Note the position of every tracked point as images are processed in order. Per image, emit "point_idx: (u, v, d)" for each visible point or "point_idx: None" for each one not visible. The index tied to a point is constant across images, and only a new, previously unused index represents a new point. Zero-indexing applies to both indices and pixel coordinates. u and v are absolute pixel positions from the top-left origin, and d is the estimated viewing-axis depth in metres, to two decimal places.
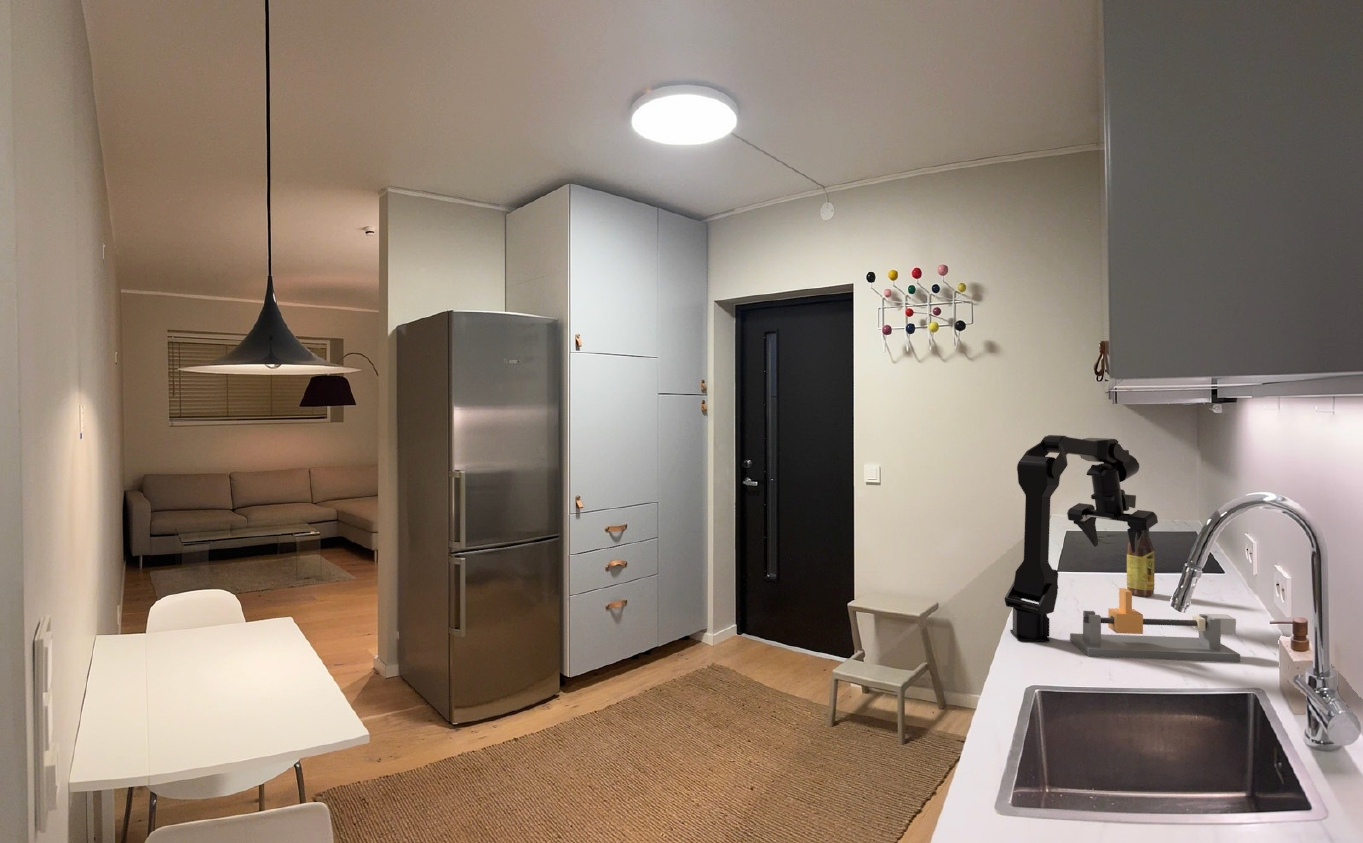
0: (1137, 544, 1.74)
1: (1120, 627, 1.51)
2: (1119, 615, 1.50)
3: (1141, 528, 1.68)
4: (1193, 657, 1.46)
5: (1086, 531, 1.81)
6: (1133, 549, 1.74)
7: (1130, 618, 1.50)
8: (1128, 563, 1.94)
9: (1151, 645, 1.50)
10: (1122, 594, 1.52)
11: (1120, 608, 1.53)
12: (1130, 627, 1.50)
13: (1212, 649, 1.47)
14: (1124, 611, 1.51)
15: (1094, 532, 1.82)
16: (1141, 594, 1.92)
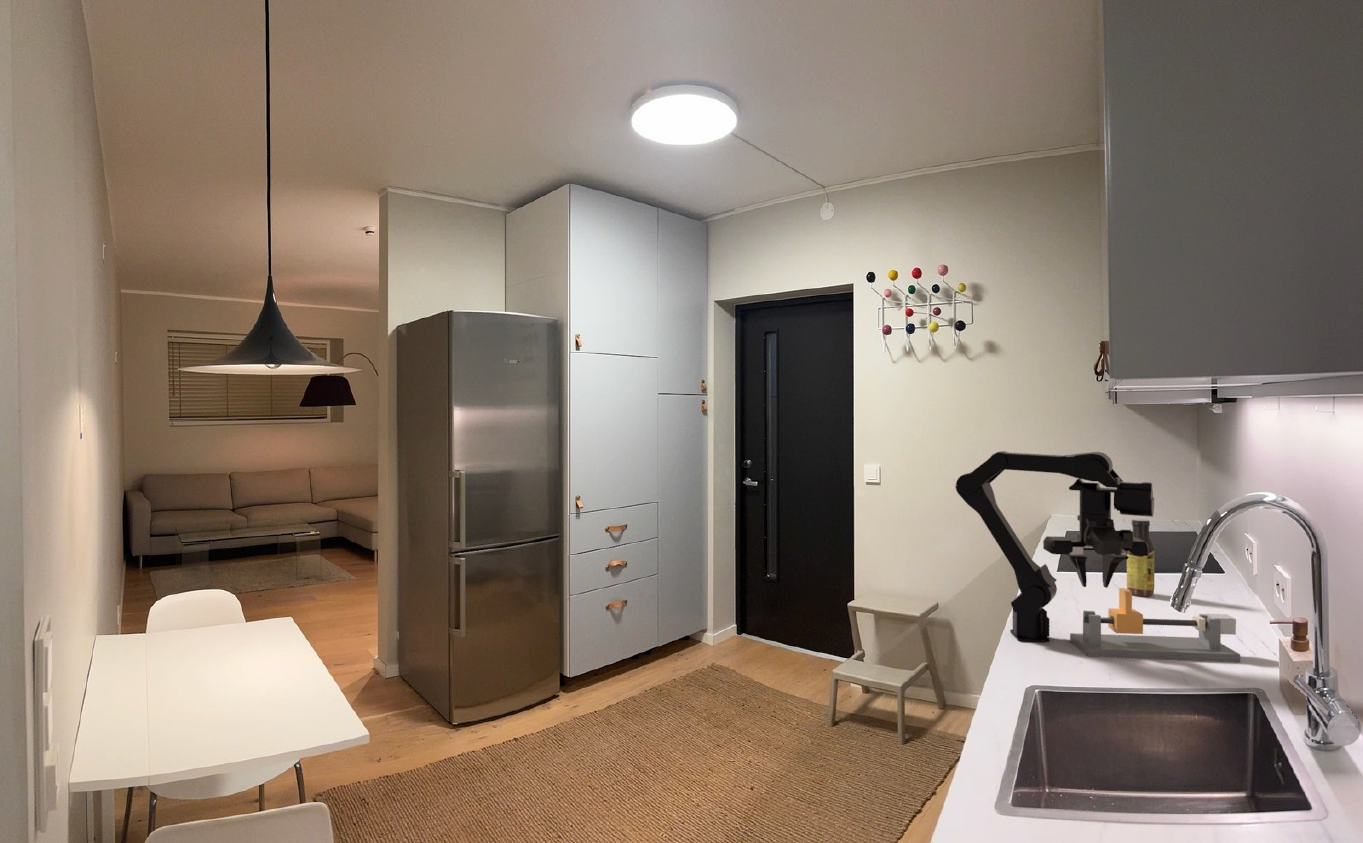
0: (1080, 576, 1.53)
1: (1120, 627, 1.51)
2: (1119, 615, 1.50)
3: None
4: (1193, 657, 1.46)
5: None
6: None
7: (1130, 618, 1.50)
8: (1128, 563, 1.94)
9: (1151, 645, 1.50)
10: (1122, 594, 1.52)
11: (1120, 608, 1.53)
12: (1130, 627, 1.50)
13: (1212, 649, 1.47)
14: (1124, 611, 1.51)
15: (1106, 570, 1.52)
16: (1141, 594, 1.92)
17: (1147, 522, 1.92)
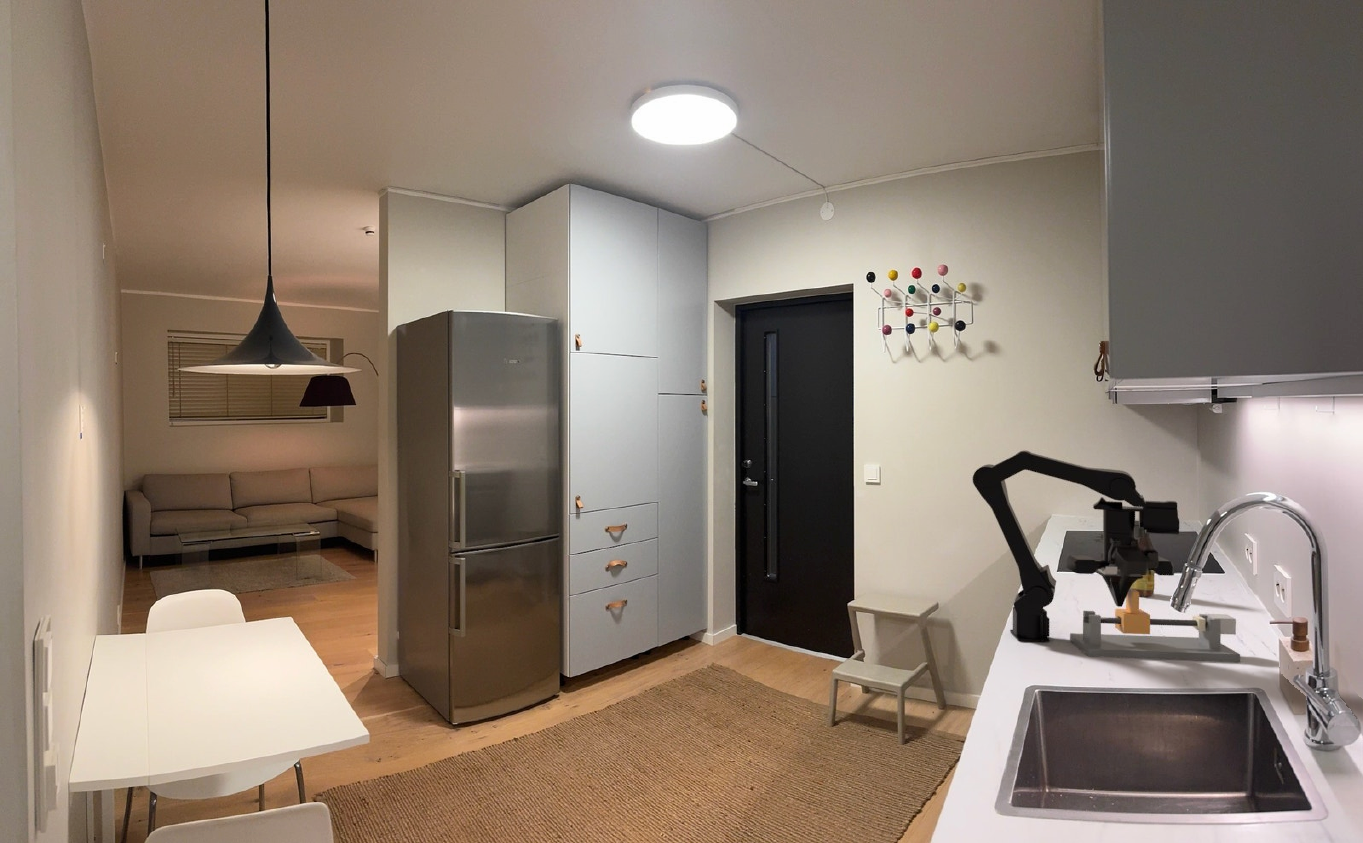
0: (1113, 596, 1.52)
1: (1127, 628, 1.50)
2: (1126, 615, 1.50)
3: None
4: (1193, 657, 1.46)
5: None
6: None
7: (1137, 618, 1.50)
8: None
9: (1151, 645, 1.50)
10: (1129, 595, 1.52)
11: (1127, 608, 1.53)
12: (1137, 627, 1.50)
13: (1212, 649, 1.47)
14: (1131, 611, 1.51)
15: (1120, 589, 1.52)
16: (1141, 594, 1.92)
17: None
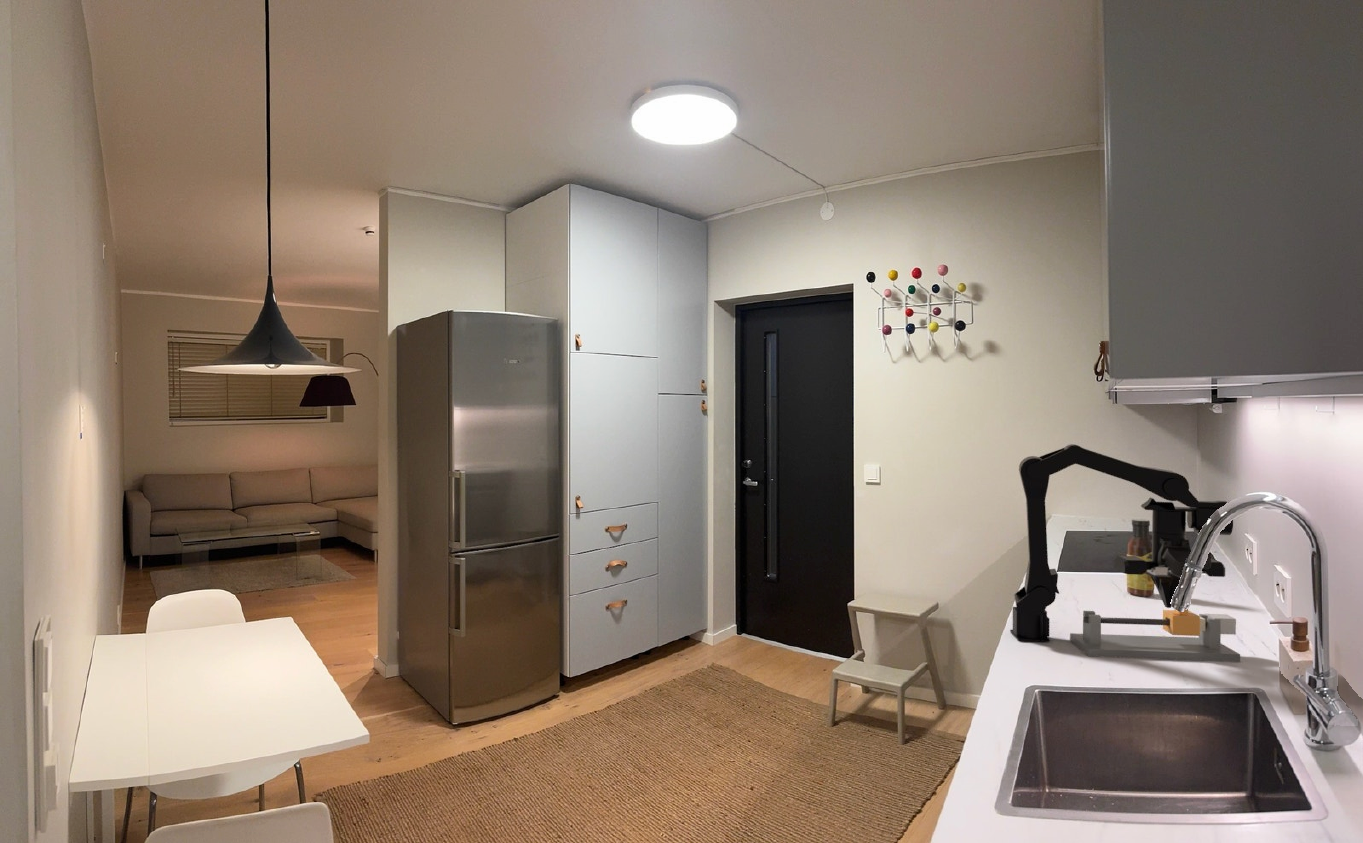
0: (1163, 597, 1.51)
1: (1177, 629, 1.49)
2: (1175, 617, 1.49)
3: None
4: (1193, 657, 1.46)
5: None
6: None
7: (1186, 620, 1.49)
8: None
9: (1151, 645, 1.50)
10: None
11: (1175, 610, 1.51)
12: (1186, 629, 1.49)
13: (1212, 649, 1.47)
14: (1180, 613, 1.50)
15: None
16: (1141, 594, 1.92)
17: (1147, 522, 1.92)
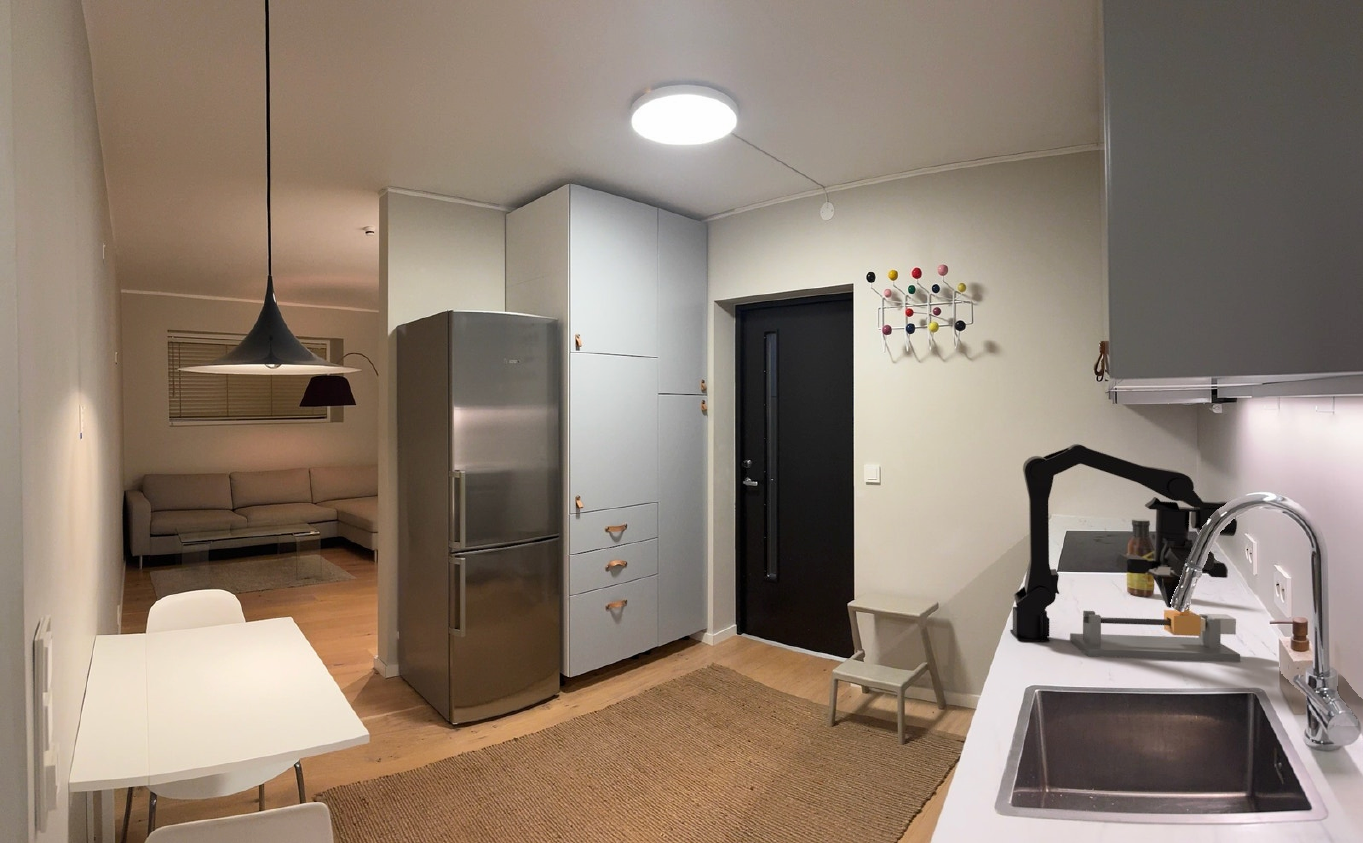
0: (1165, 596, 1.51)
1: (1178, 629, 1.49)
2: (1176, 617, 1.49)
3: None
4: (1193, 657, 1.46)
5: None
6: None
7: (1188, 620, 1.49)
8: None
9: (1151, 645, 1.50)
10: None
11: None
12: (1188, 629, 1.49)
13: (1212, 649, 1.47)
14: (1181, 613, 1.50)
15: None
16: (1141, 594, 1.92)
17: (1147, 522, 1.92)
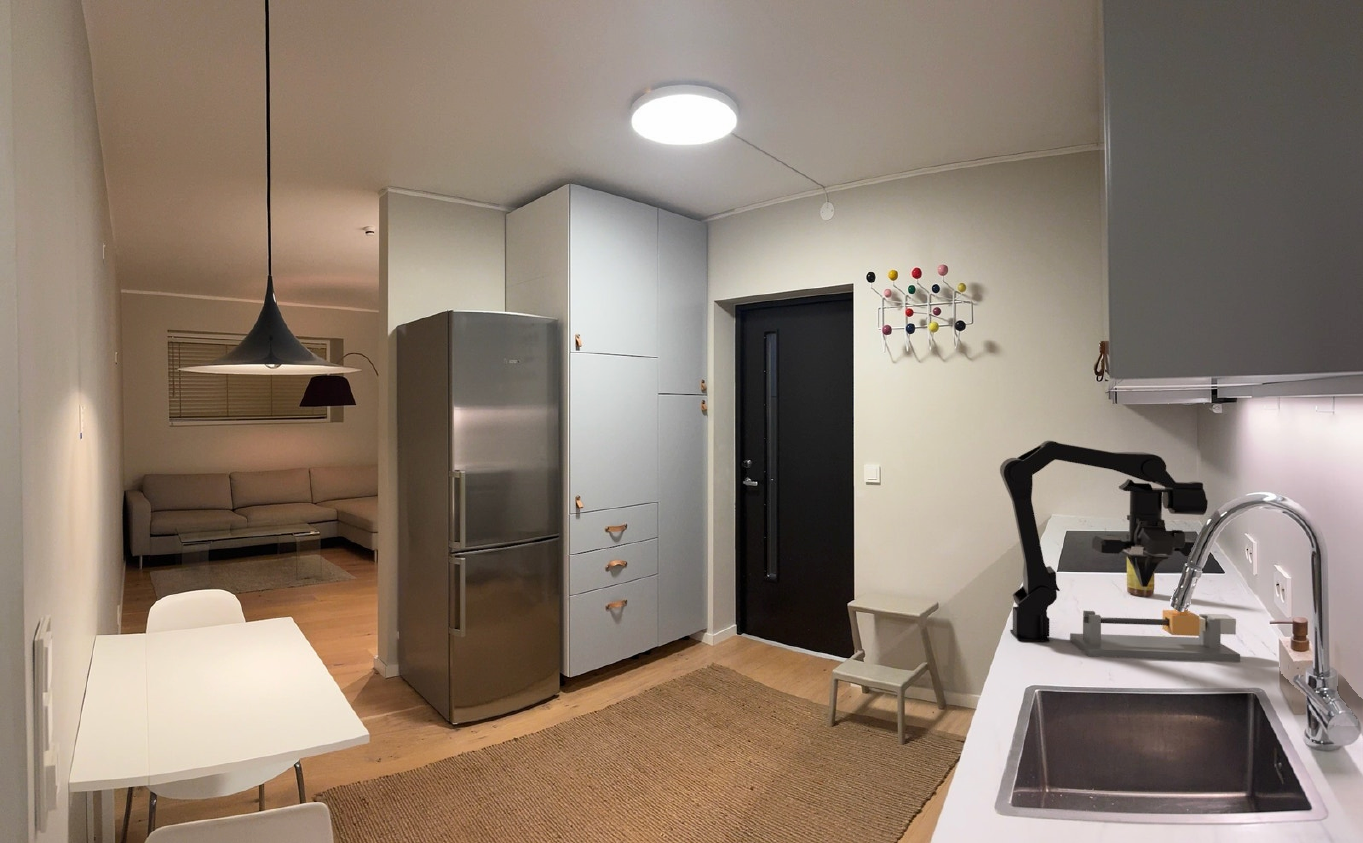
0: (1138, 576, 1.54)
1: (1176, 629, 1.49)
2: (1175, 617, 1.49)
3: None
4: (1193, 657, 1.46)
5: None
6: None
7: (1186, 620, 1.49)
8: (1128, 563, 1.94)
9: (1151, 645, 1.50)
10: None
11: (1175, 610, 1.51)
12: (1186, 629, 1.49)
13: (1212, 649, 1.47)
14: (1180, 613, 1.50)
15: (1145, 570, 1.54)
16: (1141, 594, 1.92)
17: None
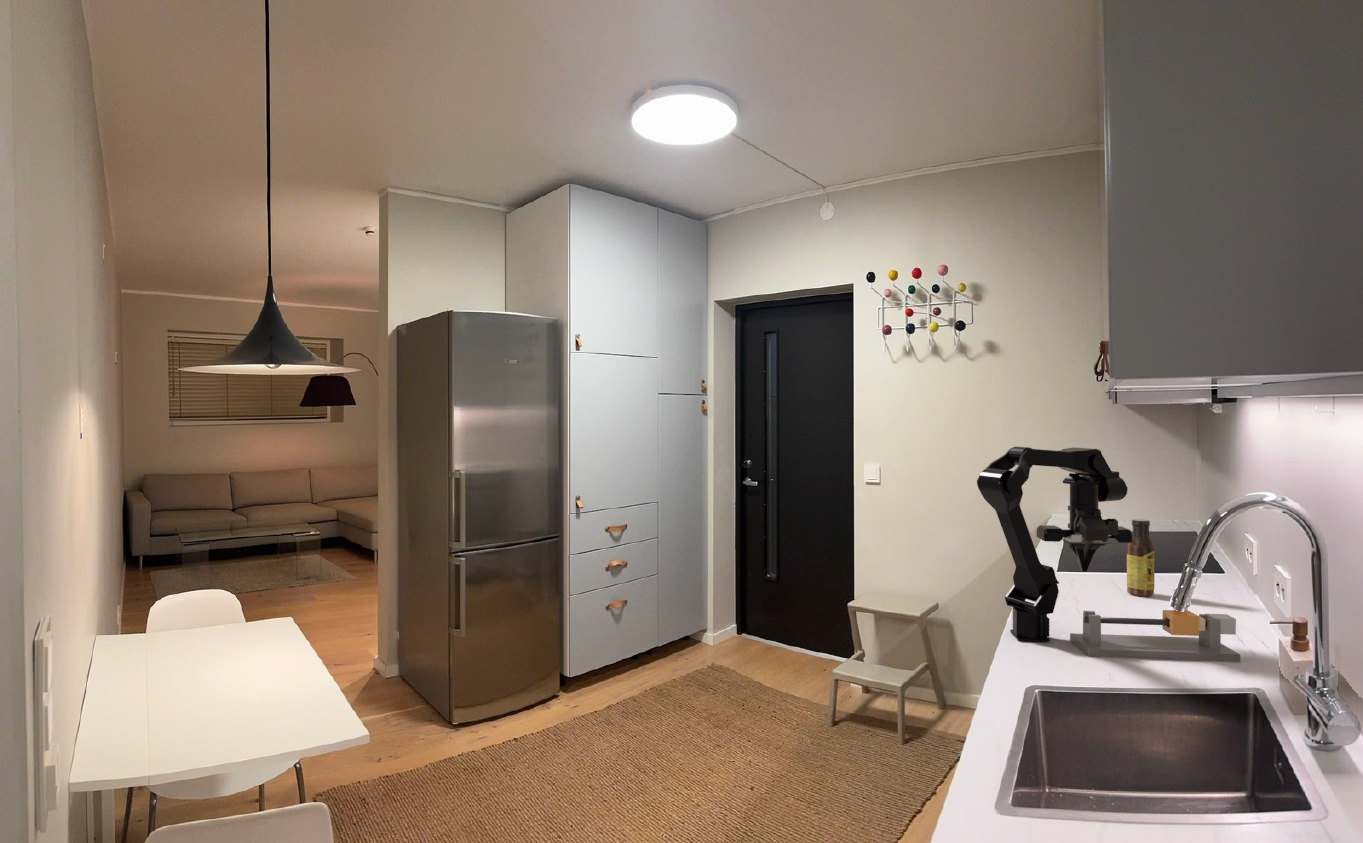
0: (1079, 562, 1.66)
1: (1176, 629, 1.49)
2: (1175, 617, 1.49)
3: None
4: (1193, 657, 1.46)
5: None
6: None
7: (1186, 620, 1.49)
8: (1128, 563, 1.94)
9: (1151, 645, 1.50)
10: None
11: (1175, 610, 1.51)
12: (1186, 629, 1.49)
13: (1212, 649, 1.47)
14: (1180, 613, 1.50)
15: (1085, 556, 1.66)
16: (1141, 594, 1.92)
17: (1147, 522, 1.92)
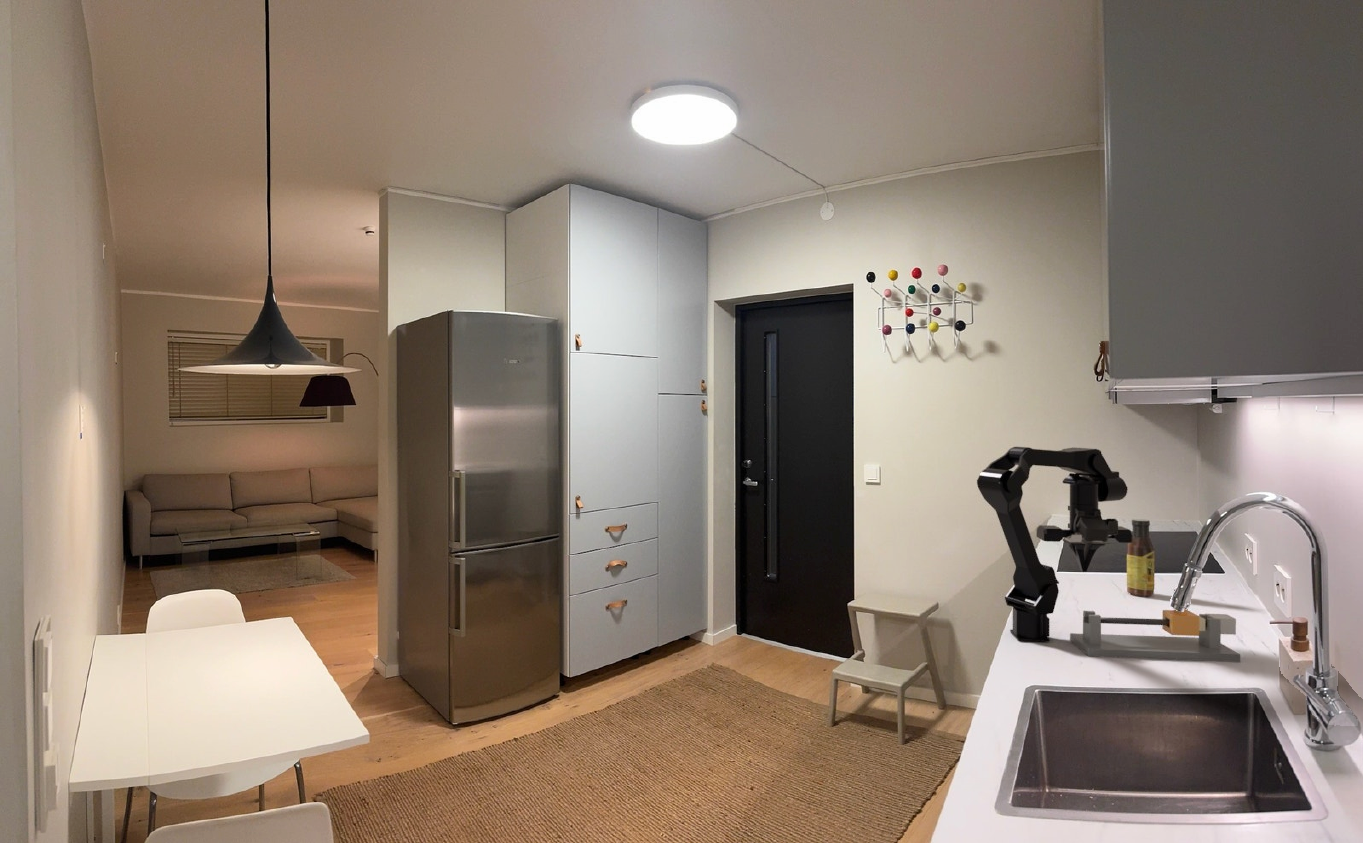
0: (1079, 562, 1.66)
1: (1176, 629, 1.49)
2: (1175, 617, 1.49)
3: None
4: (1193, 657, 1.46)
5: None
6: None
7: (1186, 620, 1.49)
8: (1128, 563, 1.94)
9: (1151, 645, 1.50)
10: None
11: (1175, 610, 1.51)
12: (1186, 629, 1.49)
13: (1212, 649, 1.47)
14: (1180, 613, 1.50)
15: (1085, 556, 1.66)
16: (1141, 594, 1.92)
17: (1147, 522, 1.92)
